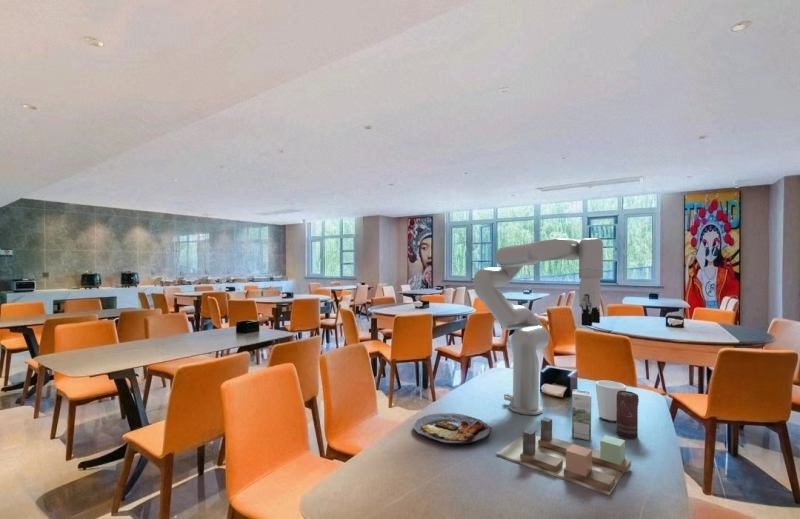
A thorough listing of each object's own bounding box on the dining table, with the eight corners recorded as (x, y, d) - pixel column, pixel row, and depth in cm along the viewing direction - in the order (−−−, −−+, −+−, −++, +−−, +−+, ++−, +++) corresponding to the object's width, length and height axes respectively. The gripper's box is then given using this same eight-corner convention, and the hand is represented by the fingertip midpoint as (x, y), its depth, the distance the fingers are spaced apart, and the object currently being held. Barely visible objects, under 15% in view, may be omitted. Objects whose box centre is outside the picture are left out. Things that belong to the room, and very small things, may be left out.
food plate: (503, 432, 133) (503, 421, 134) (464, 456, 116) (463, 444, 117) (443, 414, 151) (442, 405, 151) (400, 433, 134) (400, 423, 134)
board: (496, 455, 117) (496, 453, 117) (526, 434, 132) (526, 432, 132) (609, 495, 97) (609, 492, 97) (628, 465, 112) (628, 463, 112)
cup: (596, 421, 144) (596, 386, 144) (594, 412, 153) (594, 379, 153) (628, 426, 140) (628, 389, 140) (624, 416, 149) (624, 382, 149)
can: (641, 440, 128) (641, 396, 129) (619, 438, 130) (620, 395, 130) (634, 432, 134) (634, 390, 135) (613, 431, 136) (614, 389, 136)
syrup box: (591, 434, 133) (591, 390, 133) (591, 441, 127) (591, 395, 127) (572, 431, 135) (572, 388, 135) (571, 438, 130) (571, 393, 130)
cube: (600, 459, 111) (600, 440, 111) (605, 452, 114) (605, 435, 115) (620, 465, 107) (620, 446, 107) (624, 458, 111) (625, 440, 111)
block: (565, 469, 105) (565, 450, 105) (572, 462, 108) (572, 444, 108) (585, 476, 101) (586, 456, 101) (591, 469, 105) (592, 449, 105)
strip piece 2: (563, 475, 105) (563, 469, 105) (570, 468, 109) (570, 462, 109) (609, 492, 98) (609, 484, 98) (615, 483, 101) (615, 476, 101)
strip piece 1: (520, 459, 113) (520, 432, 113) (527, 453, 117) (527, 427, 117) (556, 472, 106) (556, 443, 106) (562, 465, 110) (562, 437, 110)
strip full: (538, 445, 122) (538, 420, 122) (544, 439, 126) (544, 415, 126) (626, 472, 106) (626, 444, 106) (631, 465, 110) (631, 438, 110)
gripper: (586, 274, 147) (586, 320, 147) (571, 274, 134) (571, 325, 134) (608, 274, 142) (609, 322, 142) (595, 274, 129) (596, 328, 129)
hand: (590, 324), depth 138 cm, fingers open, 9 cm apart
